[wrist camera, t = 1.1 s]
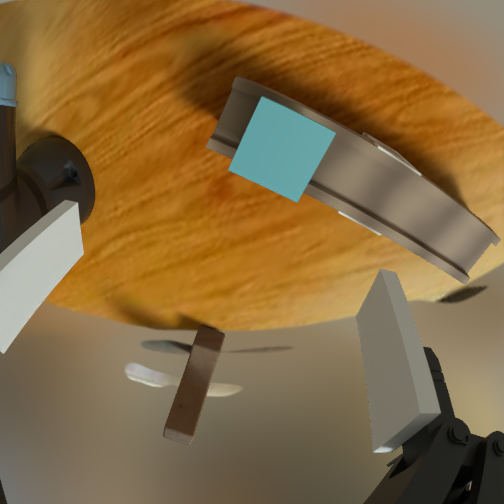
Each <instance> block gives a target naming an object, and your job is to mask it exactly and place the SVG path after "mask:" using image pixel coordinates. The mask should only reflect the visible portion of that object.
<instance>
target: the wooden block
mask: <svg viewBox="0 0 504 504" xmlns="http://www.w3.org/2000/svg"><path fill="white" fill-rule="evenodd" d="M224 338H225V334H224V333H222V332H219V331H216V330H213V329H210V328H207V327H204V326H200V327H199V329H198V332H197V334H196V337H195V340H194V343H193V346H192V349H191V352H190V356H189V359H188V362H187V365H186V368H185V371H184V374H183V377H182V379H181V382H180V385H179V388H178V391H177V393H176V396H175V399H174V402H173V405H172V407H171V410H170V413H169V416H168V419H167V421H166V424H165V427H164V433H163V436H164V437H165V438H167V439H170V440H173V441H176V442H179V443H182V444H185V445H190V444H191V443H192V441H193V439H194V436H195V433H196V429H197V425H198V422H199V419H200V416H201V412H202V409H203V405H204V402H205V398H206V395H207V391H208V388H209V385H210V381H211V378H212V374H213V372H214V369H215V366H216V363H217V360H218V357H219V355H220V352H221V348H222V345H223V342H224Z"/></svg>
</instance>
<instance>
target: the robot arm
mask: <svg viewBox="0 0 504 504" xmlns="http://www.w3.org/2000/svg"><path fill="white" fill-rule="evenodd" d="M16 79H17V75H16V70H15V68H14V67H13V66H12V65H11V64H9V63H5V62H0V352H2V353H5V351H6V350H7V348H8V347H9V345H10V344H11V343H12V341H13V340H14V339H15V337H16V336H17V334H18V333H19V332H20V330H21V329H22V328H23V326H24V325H25V324H26V322H27V321H28V320H29V319H30V317H31V316H32V315H33V313H34V312H35V311H36V310H37V308H38V307H39V306H40V304H41V303H42V302H43V301H44V300H45V298H46V297H47V296H48V295H49V293H50V292H51V291H52V290H53V289H54V287H55V286H56V285H57V284H58V283H59V281H60V280H61V279H62V278H63V277H64V276H65V274H66V273H67V272H68V271H69V270H70V269H71V268H72V266H73V265H74V264H75V263H76V262H77V261H78V260H79V259H80V257H81V256H82V255H83V254H84V252H83V244H82V237H81V228H80V225H82V224H83V223H84V222H85V221H86V220H87V219H88V217H89V216H90V214H91V212H92V209H93V206H94V201H95V186H94V180H93V176H92V173H91V170H90V168H89V166H88V163H87V162H86V160H85V158H84V157H83V155H82V154H81V152H80V151H79V150H78V149H77V148H76V147H75V146H74V145H73V144H71V143H70V142H69V141H67V140H65V139H63V138H60V137H46V138H43V139H41V140H39V141H37V142H34V143H33V144H31V145H30V146H29V147H28V148H27V149H26V150H25V151H24V152H23V154H22V155H21V156H20V157H19V158H18V159H17V160H16V144H15V117H16V106H17V105H18V102H17V101H16ZM356 319H357V324H358V330H359V337H360V343H361V350H362V356H363V363H364V370H365V378H366V385H367V394H368V403H369V412H370V422H371V433H372V445H373V452H393V451H395V450H396V449H397V448H399V447H400V446H401V445H402V448H403V453H402V454H401V455H399V456H398V457H397V458H395V459H394V460H392V461H391V462H390V463H388V464H387V466H388V467H389V466H391V465H392V464H393V466H392V467H391V468H390V470H389V471H388V473H387V474H386V475H385V477H384V478H383V479H382V481H381V482H380V483H379V485H378V486H377V487H376V488H375V490H374V491H373V492H372V493H371V495H370V496H369V497H368V498H367V500H366V501H365V502H364V503H363V504H504V433H502V432H500V431H495V432H493V433H491V434H490V435H488V436H487V437H486V438H484V437H480V436H477V435H474V434H471V433H470V431H469V428H468V426H467V425H466V424H465V423H464V422H463V421H462V420H460V419H458V418H455V415H454V412H453V408H452V404H451V400H450V397H449V393H448V390H447V386H446V383H445V382H444V376H443V373H441V371H442V370H441V366H440V363H439V360H438V358H437V357H436V355H435V354H434V352H433V351H432V349H431V348H428V347H423V346H422V343H421V340H420V337H419V334H418V331H417V328H416V325H415V322H414V319H413V316H412V313H411V310H410V308H409V305H408V302H407V299H406V297H405V294H404V291H403V289H402V286H401V284H400V281H399V278H398V276H397V273H396V272H392V271H388V270H384V269H380V271H379V273H378V275H377V277H376V279H375V281H374V283H373V285H372V287H371V289H370V291H369V293H368V295H367V297H366V299H365V301H364V302H363V304H362V306H361V308H360V310H359V312H358V314H357V316H356ZM471 483H472V484H471ZM470 484H471V489H470V491H469V486H470ZM0 504H7V501H6V498H5V495H4V491H3V488H2V484H1V480H0Z"/></svg>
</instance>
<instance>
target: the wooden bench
mask: <svg viewBox="0 0 504 504" xmlns="http://www.w3.org/2000/svg"><path fill="white" fill-rule="evenodd" d="M231 87H232V88H233V89H232V91H231V93H230V96H229V98H228V100H227V102H226V105H225V107H224V109H223V112H222V114H221V116H220V119H219V121H218V123H217V126H216V128H215V131H214V133H213V136H211V137H210V138H209V140H208V143H207V145H206V148H208V149H210V150H213V151H215V152H217V153H220V154H222V155H224V156H227V157H229V158H231V159H233V158H234V156H235V154H236V151H237V149H238V147H239V145H240V142H241V140H242V138H243V136H244V134H245V131H246V129H247V127H248V125H249V123H250V120H251V118H252V116H253V114H254V112H255V110H256V108H257V105H258V103H259V101H260V99H261V97H262V96H264V97H266V98H268V99H270V100H273V101H275V102H277V103H279V104H281V105H284V106H286V107H288V108H290V109H292V110H294V111H296V112H298V113H300V114H302V115H304V116H306V117H308V118H310V119H312V120H314V121H316V122H318V123H320V124H322V125H324V126H326V127H328V128H329V129H331V130H333V131H335V132H336V134H335V136H334V138H333V140H332V142H331V143H330V145H329V147H328V149H327V151H326V152H325V154H324V156H323V158H322V160H321V161H320V163H319V165H318V167H317V168H316V170H315V172H314V174H313V176H312V177H311V179H310V181H309V183H308V184H307V186H306V188H305V190H304V192H303V193H305V194H307V195H309V196H311V197H313V198H315V199H317V200H319V201H321V202H323V203H325V204H327V205H329V206H331V207H332V208H334V209H336V210H337V211H338V213H340V214H341V215H343V216H345V217H347V218H349V219H351V220H353V221H355V222H356V223H358V224H360V225H362V226H364V227H366V228H367V229H369V230H371V231H373V232H375V233H376V234H378V235H381V234H382V235H384V236H386V237H387V238H389V239H391V240H393V241H394V242H396V243H398V244H400V245H401V246H403V247H405V248H406V249H408V250H410V251H411V252H413V253H415V254H416V255H418V256H420V257H421V258H423V259H425V260H426V261H428V262H430V263H431V264H433V265H435V266H436V267H438V268H439V269H441V270H443V271H444V272H446V273H447V274H449V275H451V276H452V277H454V278H455V279H457V280H458V281H460V282H461V283H463V284H466V283H467V282H468V280H469V279H470V278H469V276H468V274H467V273H468V272H469V271H470V269H471V268H472V267H473V266H474V264H475V263H476V262H477V261H478V259H479V258H480V257H481V256H482V254H483V253H484V252H485V250H486V249H487V248H488V246H489V245H490V244H491V243H493V244H494V245H495V246H496V245H497V244H498V243H499V241H500V240H501V239H500V238H499V237H498V236H497V235H496V234H495V233H494V231H493V230H492V229H491V228H490V227H489V226H488V225H487V224H486V223H484V222H483V221H482V220H481V219H480V218H478V217H477V216H476V215H475V214H474V213H472V212H471V211H470V210H469V209H468V208H466V207H465V206H464V205H463V204H461V203H460V202H459V201H458V200H456V199H455V198H454V197H452V196H451V195H450V194H448V193H447V192H446V191H445V190H443V189H442V188H441V187H439V186H438V185H436V184H435V183H434V182H432V181H431V180H430V179H428V178H427V177H425V176H424V175H423V174H421V173H420V172H419V171H418V170H417V169H416V168H415V167H414V166H413V165H411V164H410V163H409V162H408V161H407V160H406V159H405V158H404V157H402V156H401V155H400V154H399V153H398V152H397V151H395V150H393V149H392V148H390V147H389V146H387V145H386V144H384V143H382V142H381V141H379V140H378V139H376V138H374V137H373V136H371V135H369V134H368V133H366V132H363V134H362V135H360V134H358V133H357V132H355V131H353V130H351V129H350V128H348V127H346V126H344V125H343V124H341V123H339V122H337V121H335V120H333V119H332V118H330V117H328V116H326V115H324V114H322V113H320V112H318V111H316V110H314V109H312V108H310V107H308V106H306V105H304V104H302V103H300V102H298V101H296V100H294V99H292V98H290V97H288V96H286V95H283V94H281V93H279V92H277V91H275V90H272V89H270V88H268V87H266V86H263V85H261V84H259V83H256V82H254V81H251V80H249V79H247V78H244V77H235V80H234V82H233V84H232V86H231Z"/></svg>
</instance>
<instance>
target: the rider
mask: <svg viewBox="0 0 504 504" xmlns="http://www.w3.org/2000/svg"><path fill="white" fill-rule="evenodd" d="M335 134H336V132H335V131H333V130H331V129H329V128H328V127H326V126H324V125H322V124H320V123H318V122H316V121H314V120H312V119H310V118H308V117H306V116H304V115H302V114H300V113H298V112H296V111H294V110H292V109H290V108H288V107H286V106H284V105H281V104H279V103H277V102H275V101H273V100H270V99H268V98H266V97H264V96H262V97H261V99H260V101H259V103H258V105H257V108H256V110H255V112H254V114H253V116H252V118H251V120H250V123H249V125H248V127H247V129H246V131H245V134H244V136H243V138H242V140H241V142H240V145H239V147H238V149H237V151H236V154H235V156H234V158H233V160H232V163H231V165H230V167H229V169H228V170H229V171H231V172H233V173H235V174H238V175H240V176H242V177H244V178H246V179H249V180H251V181H253V182H255V183H257V184H259V185H261V186H264V187H266V188H268V189H270V190H272V191H274V192H276V193H278V194H280V195H282V196H285V197H287V198H289V199H291V200H293V201H295V202H298V200H299V199H300V197H301V195H302V193H303V192H304V190H305V188H306V186H307V184H308V183H309V181H310V179H311V177H312V176H313V174H314V172H315V170H316V168H317V167H318V165H319V163H320V161H321V160H322V158H323V156H324V154H325V152H326V151H327V149H328V147H329V145H330V143H331V142H332V140H333V138H334V136H335Z"/></svg>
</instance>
